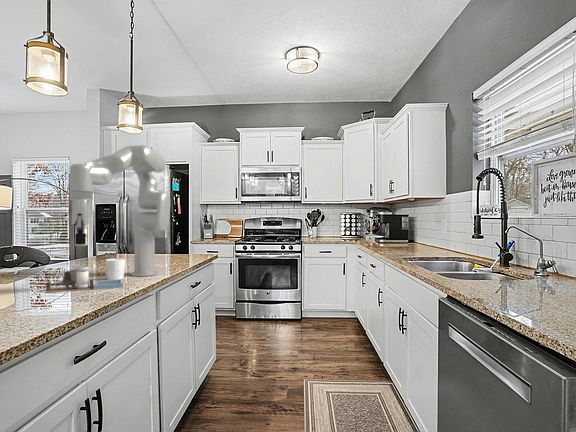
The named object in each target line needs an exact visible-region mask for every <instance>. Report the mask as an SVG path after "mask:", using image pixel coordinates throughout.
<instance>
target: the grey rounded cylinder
mask: <svg viewBox="0 0 576 432" xmlns="http://www.w3.org/2000/svg"><path fill="white" fill-rule="evenodd" d="M75 270H76V271H77V284H75V286H76V289H86V288H89V285H90V280H89V279H90V278H89V275H90V274H89V273H90V266H77V267H76V269H75Z"/></svg>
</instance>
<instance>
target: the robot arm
mask: <svg viewBox="0 0 576 432" xmlns="http://www.w3.org/2000/svg"><path fill="white" fill-rule="evenodd" d="M130 167H132V170H133V171H134V172H135V174H136V176H137V178H138V181H139V188H138V196H137V197H138V198H137V205H138V208H140V209H141V210H144V211H141V212H137V213H136V214H134V215H133V217H132V220H131V221H132V222H131V223H132V227H133V232H134V233H133V235H134V237H133V239H134V243H133V245H134V247H133V248H134V254H133V257H134V260H133V266H134V267H133V271H131V273H130V276H131V277H152V276H156V275H158V274H159V271H157V270H155V265H156V264H155V262H156V261H155V257H156V255H155V253H156V249H155V248H156V241H155V236H154V234H153V232H164V231H165V230H167V229H168V227H169V223H170V214H171V213H170V212H171V197H170V195H169V193H167V192H166V191H165V190H158V180H157V178H156V177H155V176H154V173H162V172H164V171H165V170H166V168H167V162H166V160H165V157H164V156H162V155H161V154H160V153H158V152H157V151H156V150H154V149H153V148H152V147H150V146H148V145H144V144H143V145H127V146H124V147H122V148H121V149H119V150H117V151H115V152H114V153H112V154H109V155H106V156H103V157H99V158H96V159H92V160H90V161H88V162H87V161H86V162H85V163H73V164H71V165H70V167H69V200H70V201H72V205H71V225H72V226H74V227H75V225H76V244H85V243H86V234H85V226H86V225H89V224H90V223H89V222H90V201H93V200H94V199H93V198H94V197H93V193H94V192H93V191H94V189H93V186H104V185H108V184H110V182H111V181H112V180H113V175H115V174H119V173H123V172H125V170H127V169H129V168H130ZM145 210H147V211H145ZM148 210H149V211H148Z"/></svg>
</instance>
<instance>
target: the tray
mask: <svg viewBox="0 0 576 432" xmlns="http://www.w3.org/2000/svg"><path fill="white" fill-rule="evenodd" d="M123 279H124V278H122V279H116V280H108V279H106V280H96V281H94V282H93V285H94V286H93V289H92V291H93V290H95V291H96V290H107V289H108V290H110V289H119V288H120V289H121V288H123V287H124V281H123Z"/></svg>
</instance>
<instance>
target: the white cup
mask: <svg viewBox="0 0 576 432" xmlns="http://www.w3.org/2000/svg"><path fill="white" fill-rule="evenodd" d="M125 265H126V259H125V258H121V257H120V258H116V257H115V258H108V259H107V258H106V259H105V276H106V280H121V279H124V277H125V269H126V268H125V267H126V266H125Z"/></svg>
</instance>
